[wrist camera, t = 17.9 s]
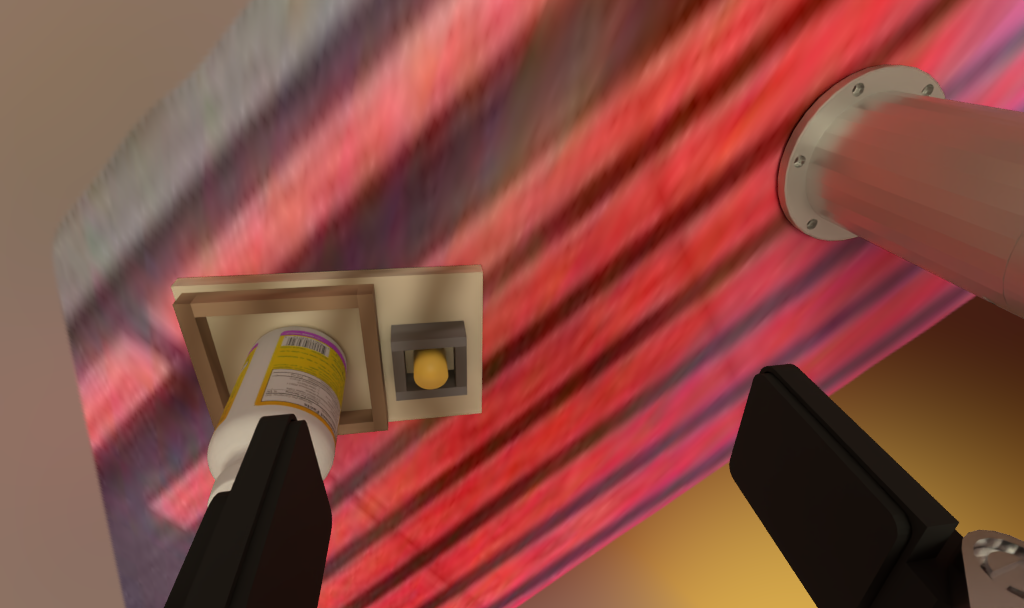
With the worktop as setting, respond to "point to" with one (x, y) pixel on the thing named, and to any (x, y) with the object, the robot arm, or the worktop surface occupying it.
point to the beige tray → (346, 334)
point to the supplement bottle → (281, 398)
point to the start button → (430, 368)
